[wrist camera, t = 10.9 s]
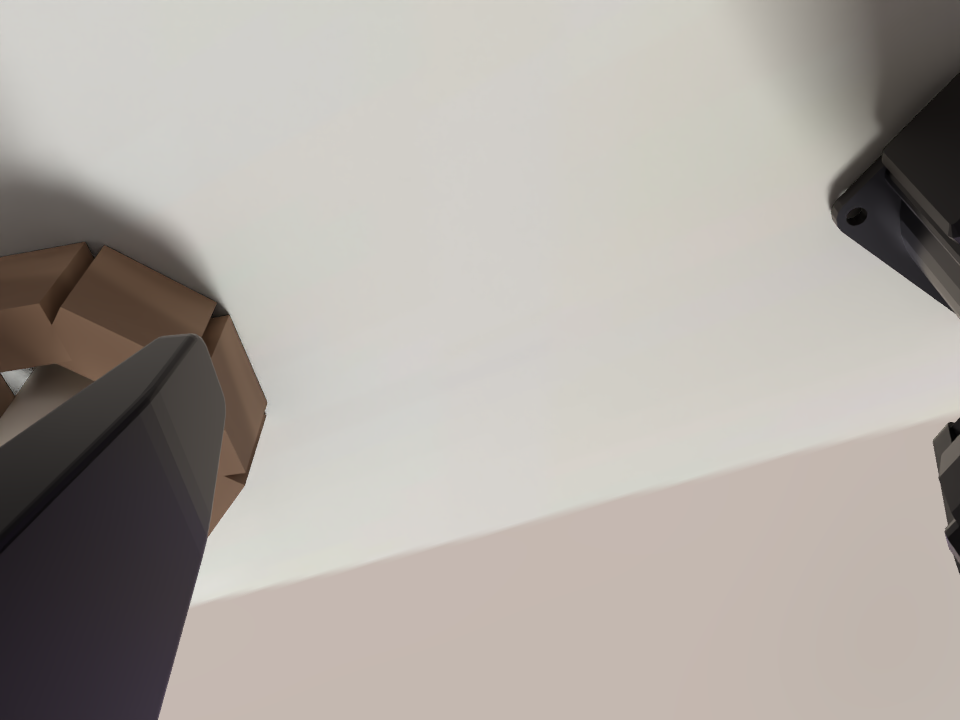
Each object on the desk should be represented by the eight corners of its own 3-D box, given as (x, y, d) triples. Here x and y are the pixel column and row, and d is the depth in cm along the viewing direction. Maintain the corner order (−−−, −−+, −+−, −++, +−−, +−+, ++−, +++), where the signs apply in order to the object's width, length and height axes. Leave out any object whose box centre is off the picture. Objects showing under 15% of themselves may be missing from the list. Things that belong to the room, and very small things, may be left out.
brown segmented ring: (311, 350, 25) (293, 418, 23) (186, 531, 30) (160, 603, 27) (-7, 187, 22) (-68, 246, 20) (-93, 415, 27) (-151, 485, 24)
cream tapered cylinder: (185, 371, 26) (-23, 826, 15) (140, 447, 27) (-75, 902, 17) (64, 312, 24) (-253, 761, 14) (24, 396, 26) (-283, 850, 16)
